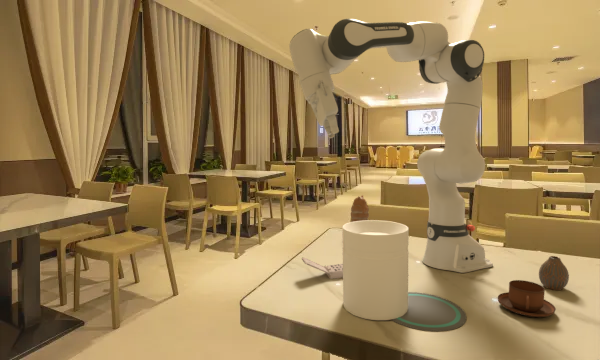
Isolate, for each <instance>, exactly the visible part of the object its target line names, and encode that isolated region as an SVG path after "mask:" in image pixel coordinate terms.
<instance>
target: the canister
mask: <svg viewBox="0 0 600 360" xmlns="http://www.w3.org/2000/svg"><path fill="white" fill-rule="evenodd" d="M341 229H342V231H341V232H342V264H343V277H342V292H343V293H342V294H343V295H342V304H343V308H344V309H345V310H346V312H348V313H350V314H351V315H353V316H355V317H357V318H358V317H359V318H362V319H364V320H365V319H366V320H372V321H389V320H391V319H396V318H398V317H401V316H403V315H404V314H405V313H406V312H407V310H408V292H409V231H410V230H409V226H407V225H406V224H403V223H400V222H395V221H390V220H378V219H375V220H374V219H370V220H369V219H368V220H364V221H355V222H352V221H350V222H346V223H344V224H343V225H342V227H341Z"/></svg>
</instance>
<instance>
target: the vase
mask: <svg viewBox="0 0 600 360" xmlns="http://www.w3.org/2000/svg"><path fill="white" fill-rule="evenodd" d="M538 279H539V281H540V283H541V284H542V285H543V287H544V288H547V289H550V290H553V291H560V290H563V289H565V288H566V286H568V283H569V279H570V274H569V270H568V269H567V267H566V265H565V264H564V263H563V261H562V260H561V257H559V256H556V255H555V256H554V255H550V256H549V257H548V259H546V261H544V262H543V263H542V264H541V265H540V267H539V270H538Z"/></svg>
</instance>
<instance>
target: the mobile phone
mask: <svg viewBox="0 0 600 360" xmlns="http://www.w3.org/2000/svg"><path fill="white" fill-rule="evenodd" d="M301 260H302V262H303V263H304V264H305V265H307V266H309V267H310V268H311V267H312V268H314V269H316V270H319V271H321V272H323V273H325V275H326V276H327V277H328V278H329V279H339V278H342V279H343V263H337V264H329V265H324V266H323V265H321V264H319V263H317V262H315V261H312V260H311V259H308V258H306V257H301Z"/></svg>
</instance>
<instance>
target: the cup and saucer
mask: <svg viewBox="0 0 600 360" xmlns="http://www.w3.org/2000/svg"><path fill="white" fill-rule="evenodd" d="M545 290H546V289H545V286H542V285H541V284H539V283H536V282H534V281H528V280H522V279H515V280H514V279H513V280H511V281H509V283H508V292H503V293H500V294H498V296H497V301H498V302H499V304H500V305H501V306H502V307H503V308H504V309H506V310H509V311H511V312H513V313H515V314H518V315H521V316H525V317H531V318H545V317H549V316H552V315H553V314H555V312H556V307H555V305H554V304H553V303H551V302H550V301H548V300H546V299H545Z"/></svg>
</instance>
